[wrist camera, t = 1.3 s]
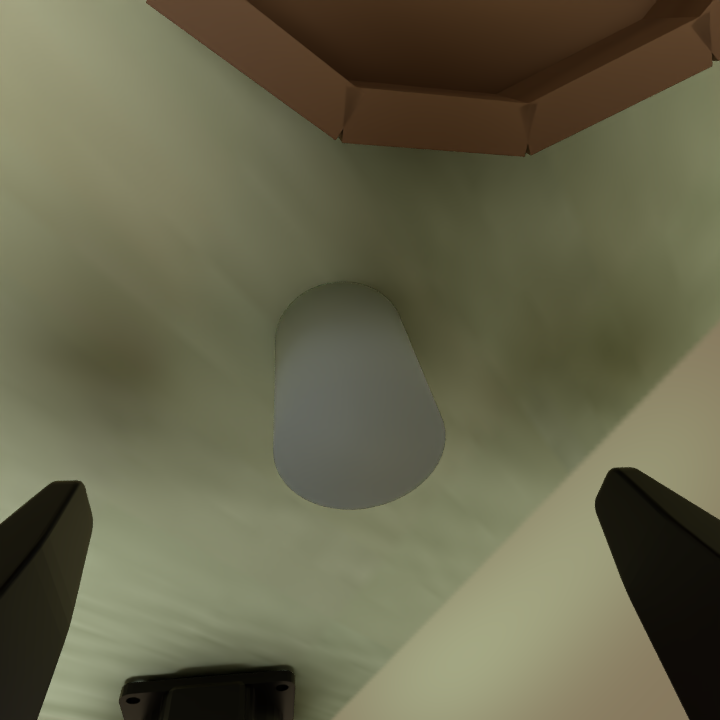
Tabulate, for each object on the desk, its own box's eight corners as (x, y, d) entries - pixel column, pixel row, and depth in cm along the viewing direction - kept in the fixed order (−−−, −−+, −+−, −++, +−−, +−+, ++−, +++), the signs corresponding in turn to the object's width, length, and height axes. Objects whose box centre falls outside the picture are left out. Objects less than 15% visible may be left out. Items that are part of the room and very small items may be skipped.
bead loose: (394, 393, 14) (430, 506, 11) (274, 392, 14) (272, 512, 10) (411, 284, 12) (460, 378, 9) (275, 279, 12) (274, 377, 8)
